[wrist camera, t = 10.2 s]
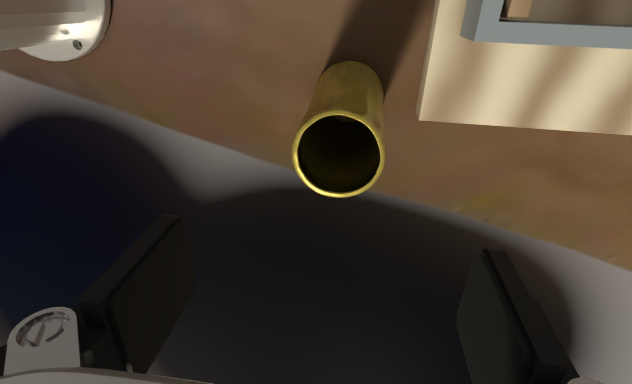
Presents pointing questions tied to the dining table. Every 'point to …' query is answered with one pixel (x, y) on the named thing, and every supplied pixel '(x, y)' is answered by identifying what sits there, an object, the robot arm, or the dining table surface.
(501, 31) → the grey bracket
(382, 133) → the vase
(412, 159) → the dining table surface
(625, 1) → the board
